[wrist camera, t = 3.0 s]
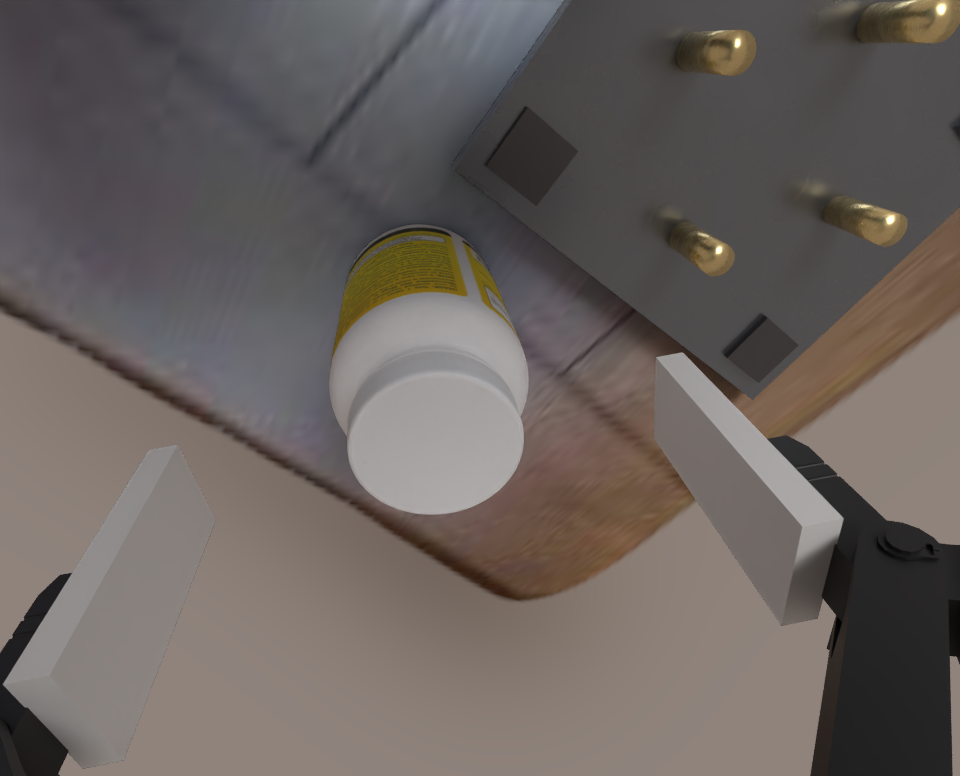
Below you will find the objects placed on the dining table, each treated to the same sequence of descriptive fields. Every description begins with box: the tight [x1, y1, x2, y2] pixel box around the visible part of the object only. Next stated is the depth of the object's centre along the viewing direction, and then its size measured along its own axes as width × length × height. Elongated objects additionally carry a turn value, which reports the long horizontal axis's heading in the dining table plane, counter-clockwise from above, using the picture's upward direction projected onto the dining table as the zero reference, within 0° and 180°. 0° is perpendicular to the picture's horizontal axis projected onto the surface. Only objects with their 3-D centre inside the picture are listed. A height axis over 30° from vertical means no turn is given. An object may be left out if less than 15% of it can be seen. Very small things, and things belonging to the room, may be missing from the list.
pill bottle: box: [329, 224, 529, 515], centre depth 20 cm, size 6×6×11 cm
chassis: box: [452, 0, 960, 400], centre depth 21 cm, size 18×16×4 cm
